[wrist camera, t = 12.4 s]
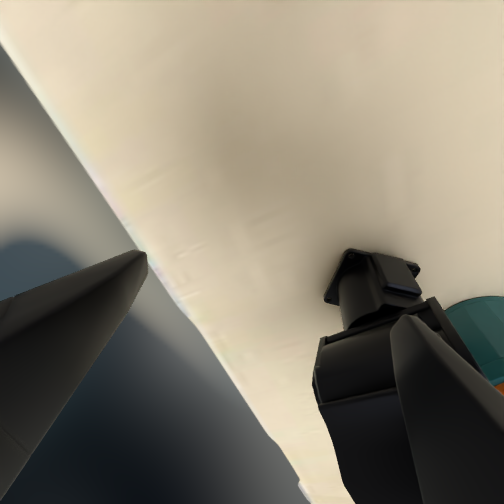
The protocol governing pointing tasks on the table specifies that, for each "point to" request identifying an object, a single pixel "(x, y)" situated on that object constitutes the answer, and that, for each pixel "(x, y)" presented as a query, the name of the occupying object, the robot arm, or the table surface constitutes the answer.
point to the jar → (482, 332)
